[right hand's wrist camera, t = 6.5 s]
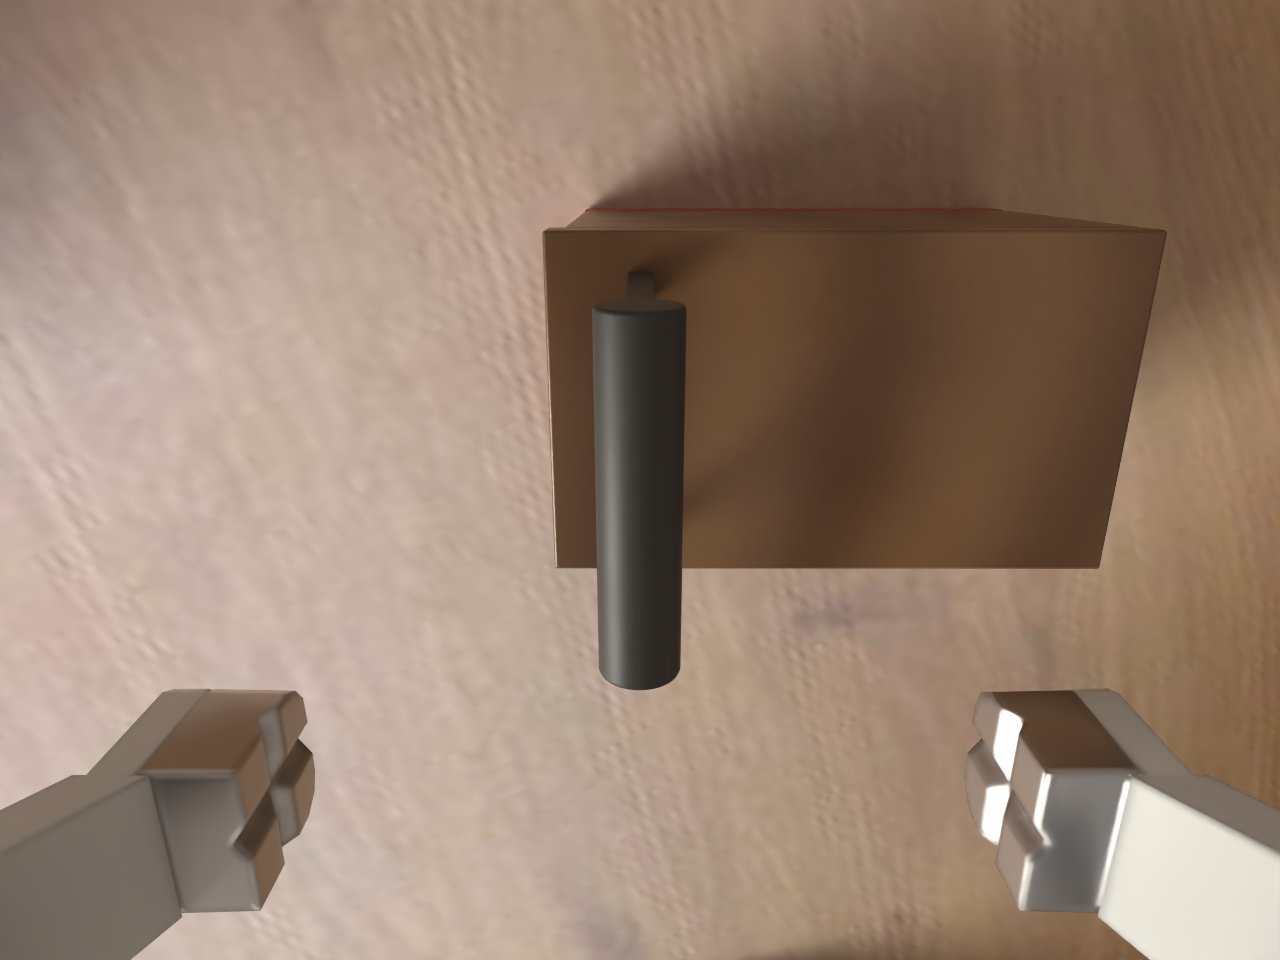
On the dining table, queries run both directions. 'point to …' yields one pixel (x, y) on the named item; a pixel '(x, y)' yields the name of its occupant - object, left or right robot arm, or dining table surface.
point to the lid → (832, 404)
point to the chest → (822, 219)
